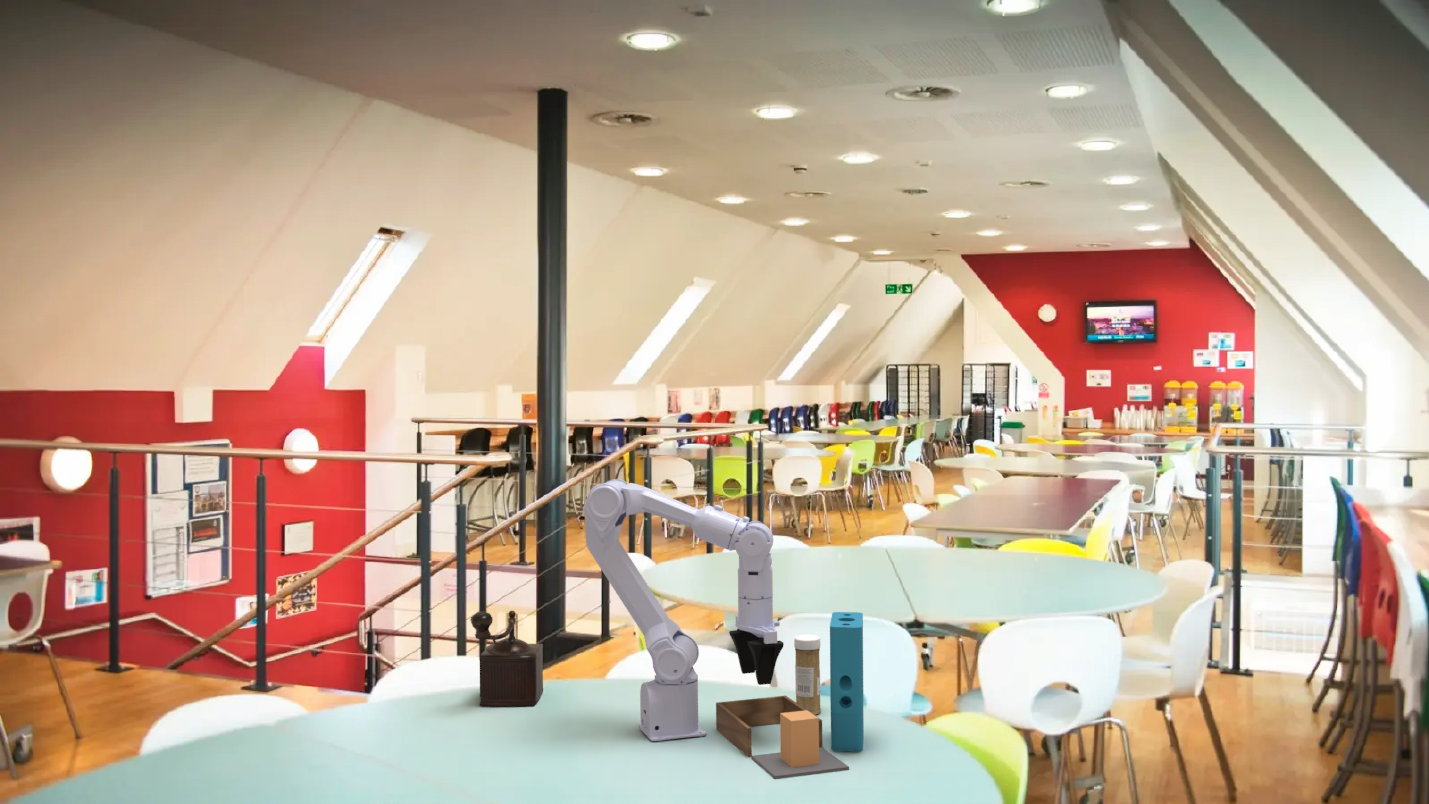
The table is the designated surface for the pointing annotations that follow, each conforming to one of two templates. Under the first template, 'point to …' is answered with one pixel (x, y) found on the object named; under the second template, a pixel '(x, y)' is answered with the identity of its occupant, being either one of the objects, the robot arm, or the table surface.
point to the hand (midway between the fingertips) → (756, 678)
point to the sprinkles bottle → (807, 672)
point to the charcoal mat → (782, 769)
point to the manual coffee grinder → (508, 666)
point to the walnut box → (753, 718)
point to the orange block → (799, 738)
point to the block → (846, 681)
